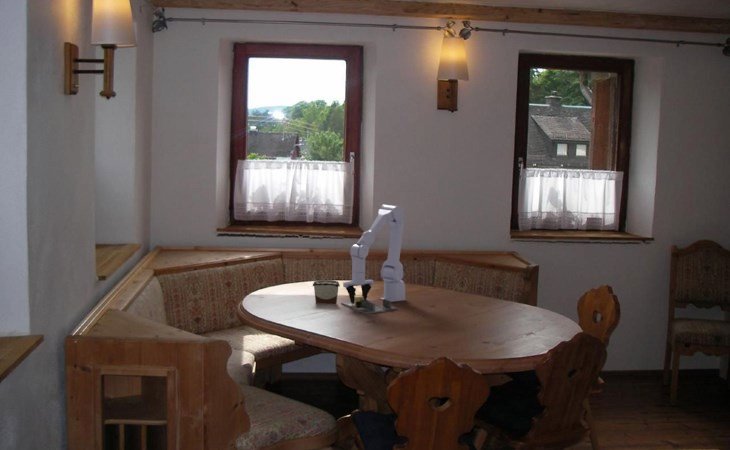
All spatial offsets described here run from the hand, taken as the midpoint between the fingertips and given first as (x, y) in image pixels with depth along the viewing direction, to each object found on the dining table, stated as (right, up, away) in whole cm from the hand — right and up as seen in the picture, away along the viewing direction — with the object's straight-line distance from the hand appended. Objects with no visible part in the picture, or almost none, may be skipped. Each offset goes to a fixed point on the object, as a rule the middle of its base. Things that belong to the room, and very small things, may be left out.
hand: (358, 301), depth 344 cm
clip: (0, -1, 0) cm, 1 cm away
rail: (+2, -2, -3) cm, 4 cm away
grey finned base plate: (+13, -3, -4) cm, 14 cm away
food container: (-14, -1, +6) cm, 16 cm away
